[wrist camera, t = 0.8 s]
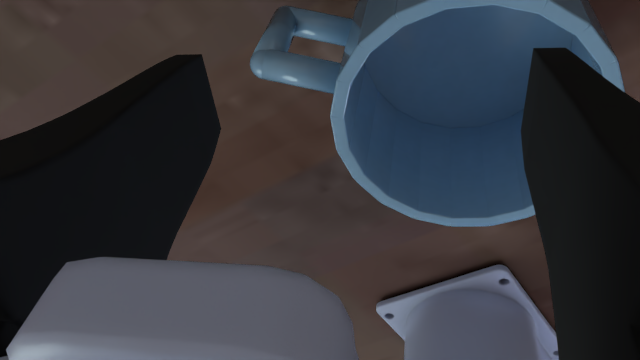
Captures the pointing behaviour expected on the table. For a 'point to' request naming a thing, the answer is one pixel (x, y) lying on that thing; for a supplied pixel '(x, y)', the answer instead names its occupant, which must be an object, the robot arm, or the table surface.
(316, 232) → the table surface
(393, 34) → the mug
